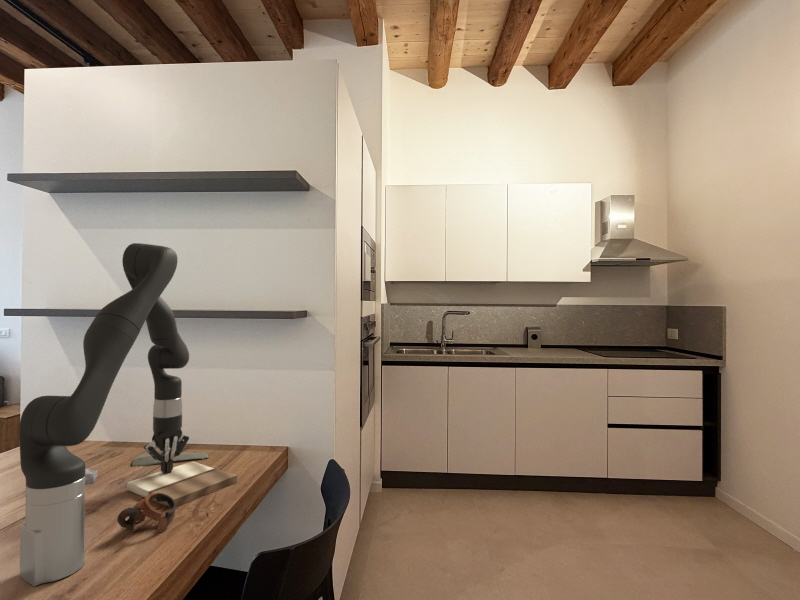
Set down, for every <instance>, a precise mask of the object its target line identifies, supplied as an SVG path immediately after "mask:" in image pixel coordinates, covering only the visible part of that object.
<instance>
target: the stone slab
mask: <svg viewBox="0 0 800 600" xmlns="http://www.w3.org/2000/svg"><path fill="white" fill-rule="evenodd" d="M205 453H206V452H181V453H180V455H179V456H176V457H174V459H173V462H179V461H180V462H181V461H190V460H204V459H205V460H206V458H207V459H209V458H210V456H209V454H208V453H207V454H205ZM158 464H161V461H158V460H155V459H154V458H153V457H152V456H151V455H150V454H149V453H145V454H139V455H136V457H134V459H133V461H132V467H133V466H138V467H140V466H142V467H147V466H152V465H158Z"/></svg>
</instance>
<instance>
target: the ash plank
mask: <svg viewBox="0 0 800 600" xmlns="http://www.w3.org/2000/svg"><path fill="white" fill-rule="evenodd" d="M211 469H214V467H211V466H209V465H205V464H201V463H199V462H196V461H194V460H193V461H189V462H186V463H183V464H181V465H177V466H173V470H172V472H171V473H168V474H165V473H162V472H161V471H158V472H155V473H152V474H149V475H145V476H142V477H139V478H136V479H134V480H133V479H132V480H130V481H128V482H127V483H126V484H127V485H126V490H127V491H129V492H131V493H133V494H136V495H138V496H140V497H143V498H144V499H145V498H146V497H147V496H148V495H149V491H151V490H154V489H157V488H160V487H163V486H166V485H169V484H171V483H174V482H177V481H180V480H183V479H186V478H188V477H191V476H194V475H197V474H200V473H203V472H206V471H208V470H211Z"/></svg>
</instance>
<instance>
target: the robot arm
mask: <svg viewBox="0 0 800 600" xmlns="http://www.w3.org/2000/svg"><path fill="white" fill-rule="evenodd" d="M121 259H122V262H121V263H122V267H123V271H124V275H125V277H126V279H127V281H128V284H129V286H130V287H131V290H129V291H128V292H126V293H124V294H122V295H121V296H119V297H117V298H115V299H114V300H112V301H111V302H109V303H107V304H106V305H105V306H103V307H102V308H101V309H100V310H99V311H98V313H97V314H96V316H95V317H94V319H93V320H92V321H91V324H90V325H89V327H88V329H86V332H85V333H84V336H83V344H82V346H83V355H84V364H85V367H84V368H85V369H84V372H83V375H82V377H81V380H80V382H79V383H78V385H77V386H76V388H75V390H74V391H73V393H71V395H43V396H38V397H36V398H33V399H32V400H31V401H30V402H29V403H28V404H27V405H26V406H25V408H24V409H23V411H22V413H21V417H20V420H19V424H18V425H19V428H18V429H19V430H18V435H19V436H18V439H19V441H18V442H19V456H20V457H19V458H20V468H21V472H22V474H23V476H24V477H25V508H24V509H25V510H24V512H25V515H24V516H25V519H24V521H25V523H24V524H21V525H20V528H19V577H20V578H21V579H22V580H23V581H26V582H27V583H28V584H30V585H31V586H33V587H36V586H38V585H42V584H44V583H45V584H46V583H50V582H55V581H58V580H61V579H63V578H66V577H68V576H70V575H72V574H75V573H76V572H77V571H79V570H80V569H81V568H82V567H83V566H84V564H85V553H86V551H85V550H86V549H85V538H86V537H85V533H86V532H85V526H86V525H85V523H86V522H85V521H86V518H85V517H86V516H85V515H86V485H85V470H86V469H87V468H86V463H85V461H84V460H83V458H81V457H79V456H77V455H76V454H73V452H71V451H70V450H69V449H68V448H67V447H72V446H73V447H74V446H77V445H80V444H81V443H83V442H84V441H85V440H87V438H88V437H89V436H90V435H91V433H92V432H93V430H94V429H95V427H96V425H97V423H98V420H99V418H100V417H101V413H102V411H103V408H104V406H105V403H106V402H107V399H108V396H109V394H110V392H111V389H112V386H113V384H114V382H115V380H116V378H117V375H118V374H119V372H120V370H121V368H122V365H123V363H124V362H125V360H126V358H127V356H128V355H129V352H130V351H131V349H132V348H133V345H135V342H136V340H137V338H138V336H139V335H140V333H141V330H142V328H143V326H144V324H145V323H146V325H147V331H148V334H149V339H150V341H151V343H152V344H153V345H152V346H151V347H150V348H149V350H148V352H147V362H148V365H149V369H150V372H151V375H152V378H153V384H154V398H153V399H154V400H153V405H152V408H153V409H152V415H153V416H152V431H153V434H152V437H151V441H150V442H149V444H145V445H144V447H143V449H144V450H145V451H146V452H147V454H150V455H151V456H152V457H153V458H154V459H155V460H158V461H161V463H160V472H162V473H165V474H168V473H171V472H172V470H173V467H174V461H173V459H174V457H176V456H179V455H180V453H183V450H184V449H185V446H186V444H187V443H188V441H189V439H190V437H189V436H188V435H185V434H183V431H182V428H183V400H182V399H183V398H182V391H183V389H182V387H183V386H182V385H183V383H182V379H181V378H180V377H179V376H175V375H171V374H168V373H167V372H166V370H165V369H168V370H169V369H171V370H172V369H175V370H176V369H182V368H184V367H186V365H188V363H189V360H190V351H189V349H188V346H187V345H186V344H185V343H186V342H184V340H183V338H182V337H181V336H180V334H179V332H178V326H177V321H176V317H175V314H174V312H173V310H172V309H171V307H170V306H169V305H168V304H167V302H165V300H164V299H163V298H162V297H161V295H162V294H163V292H164V291H165V289H167V287H168V286H169V284H170V282H171V281H172V279H173V277H174V275H175V273H176V269H177V267H178V255H177V253H176V251H175V250H174V249H173V248H171V247H168V246H163V245H159V244H158V245H156V244H148V243H139V242H137V243H133V242H132V243H131V244H129V245H127V247H125V250H124V251H123V254H122V258H121ZM156 449H157V450H158V451H157V450H156Z"/></svg>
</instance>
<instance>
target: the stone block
mask: <svg viewBox="0 0 800 600" xmlns="http://www.w3.org/2000/svg"><path fill="white" fill-rule="evenodd" d="M97 477H98V470H95V469H89V468H86V470H85V486H86V485H90V484H93V483H94V482H95V480H96V479H97Z"/></svg>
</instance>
